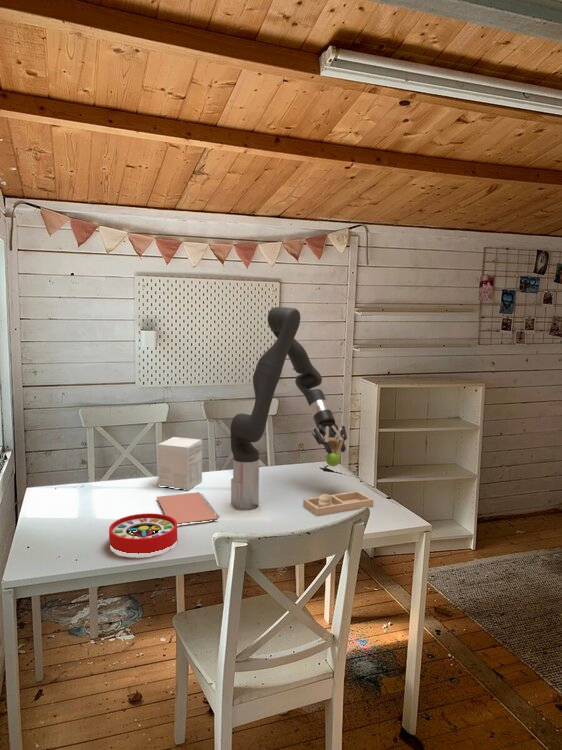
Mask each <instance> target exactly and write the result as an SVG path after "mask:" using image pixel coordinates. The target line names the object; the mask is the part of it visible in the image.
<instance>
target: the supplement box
mask: <svg viewBox="0 0 562 750" xmlns="http://www.w3.org/2000/svg"><path fill="white" fill-rule="evenodd" d="M157 469H158V470H157V471H158V473H157V475H158V477H157V478H158V480H157V482H158V485H160V486H166V487H174V488H179V489H185V490H188V491H190V490H191V489H193V488H194V487H196V486H197V485H198V483H199V484H200V483H202V482H203V439H199V438H198V439H197V438H189V437H188V438H187V437H178V436H177V437H176V436H172V437H170V438H169V439H166V440H164V441H162V442H159V443H158V444H157ZM201 481H202V482H201ZM196 484H197V485H196ZM158 485H157V486H158ZM195 485H196V486H195ZM193 486H194V487H193ZM192 487H193V488H192ZM190 488H191V489H190ZM189 489H190V490H189Z"/></svg>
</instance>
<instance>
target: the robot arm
mask: <svg viewBox="0 0 562 750" xmlns="http://www.w3.org/2000/svg"><path fill="white" fill-rule="evenodd" d="M267 324H268V327H269V328H270V331H271V332H272V334H273V335H274V336H275V337H276V341H274V343H273V344H272V345H271V346H270V347H269V348H268V349H267V350H266V351H265V352H264V353H263V354H262V355H261V357H260V358H259V359H258V362H257V364H256V367H255V370H254V372H253V376H252V384H253V391H254V398H255V399H254V400H255V401H254V406H253V408H252V412H251V413H250V414H246V413H238V414H235V415H234V417H233V418H232V420H231V423H230V432H229V433H230V448H231V449H230V451H231V453H232V456H233V460H232V461H233V462H232V463H233V468H232V469H233V470H232V471H233V472H232V474H233V477H232V478H231V479H230V487H231V488H230V504H231V506H232V507H233V508H234V509H236V510H241V511H243V510H244V511H245V510H246V511H247V510H248V511H249V510H253V509H257V508H258V507H259V506H260V505H259V502H260V496H259V495H260V452H259V450H258V449H257V448H256V447H255V446H254V445H253V444H252V443H257V442H259V441H260V440H261V439H262V437H263V435H264V433H265V430H266V427H267V422H268V417H269V413H270V409H271V406H272V402H273V398H274V395H275V391H276V389H277V386H278V383H279V380H280V378H281V375H282V371H283V368H284V364H285V361H286V359H287V356H288V358H289V361H290V363H291V365H292V367H293V371H295V373H296V374H298V375H296V377H295V382H294V384H295V385H296V387H297V388H298V390H299V391H300V392H301V394H303V396H304V397H305V400H306V402H307V404H308V407H309V410H310V413H311V416H312V418H313V420H314V421H313V422H314V424H315V426H316V428H315V427H314V429H313V430H312V431H311V434H312V436H313V437H314V439H315V441H316V443H317V444H318V445H319V446H321V445H322V446H324V449H325V452H326V453H327V454H331V452H332V449H331V446H330V444H329V443H328V441H329V438H330V439H335V440H337V441H338V443H339V444H340V439H341V438H343V439H344V441H343V444H342V447H341V449H340V451H341V453H345V452H346V449H347V446H346V444H345V442H346V440H347V439H348V436H347V431H346V427H345V426H344V425H341V426H338V425H337V423H336V419H335V417H334V415H333V412H332V410H331V407H330V405H329V403H328V401H327V398H326V396H325V394H324V392H323V391H322V390H321V389H320V388H316V387H319V386H320V385H321V384H322V383H323V377H322V375H321V373H320V371H318V370H317V368H316V367H314V365H313V364H312V362H311V360H310V357H309V355H308V353H307V351H306V349H305V348H304V347H303V345H302V344H301V343H300V342H298V341H297V339H296V338H295V337H296V334H298V333H297V332H298V330H299V327H300V324H301V312H300V311H299V310H298V309H297V308H294V307H285V306H284V307H283V306H282V307H281V306H276V307H272V308H271V309H270V310H269V311H268V314H267ZM314 388H315V389H314ZM342 435H344V437H343V436H342Z"/></svg>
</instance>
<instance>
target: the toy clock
mask: <svg viewBox="0 0 562 750" xmlns="http://www.w3.org/2000/svg"><path fill="white" fill-rule="evenodd" d="M150 529H151V530H150ZM136 530H137V531H136ZM159 530H161V531H160V532H158V531H159ZM130 531H131V533H133V534H131V533H129V532H130ZM133 531H136V532H133ZM153 531H155V533H154V532H153ZM135 536H137V537H135ZM176 541H177V542H178V527H177V521H176V520H175V519H174V518H172V517H170V516H167V515H165V514H164V513H163V514H162V513H152V512H151V513H148V512H147V513H137V514H132V515H131V514H130V515H127V516H124V517H121V518H119V519H117V520H115V521H114V522H113V523H110V525H109V528H108V543H110V545H111V546H112V547H113V548H114V549H116V550H119V551H122V552H126V553H138V554H139V553H151V552H155V551H159V550H163V549H165V548H167V547H170V546H172V545H173V544H174V543H175V542H176Z"/></svg>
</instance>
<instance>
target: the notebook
mask: <svg viewBox="0 0 562 750" xmlns="http://www.w3.org/2000/svg"><path fill="white" fill-rule="evenodd" d="M204 498H205V499H204ZM156 499H157V502H158V501H159V502H158V504H159V503H160V504H159V506H160V505H161V506H160V508H161V507H162V508H161V510H162V509H163V510H162V512H163V511H164V512H163V514H164V513H165V514H164V515H167V516H170V517H172V518H174V519H175V520H176V521H177V524H182V523H190V522H202V521H210V520H212V521H215V520H218V521H219V519H220V516H219V514H218V513H217V512H216V509H214V508H213V506H212V504H210V502H209V501H208V500H207V497H205V496H204V494H203V493H200V491H199V492H198V491H197V492H196V491H195V492H188V493H187V492H186V493H180V494H179V493H178V494H171V495H170V494H169V495H161V496H160V495H159V496H156ZM205 500H206V501H205ZM208 504H209V505H208ZM213 511H214V512H213ZM215 514H216V515H215ZM218 518H219V519H218Z"/></svg>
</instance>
